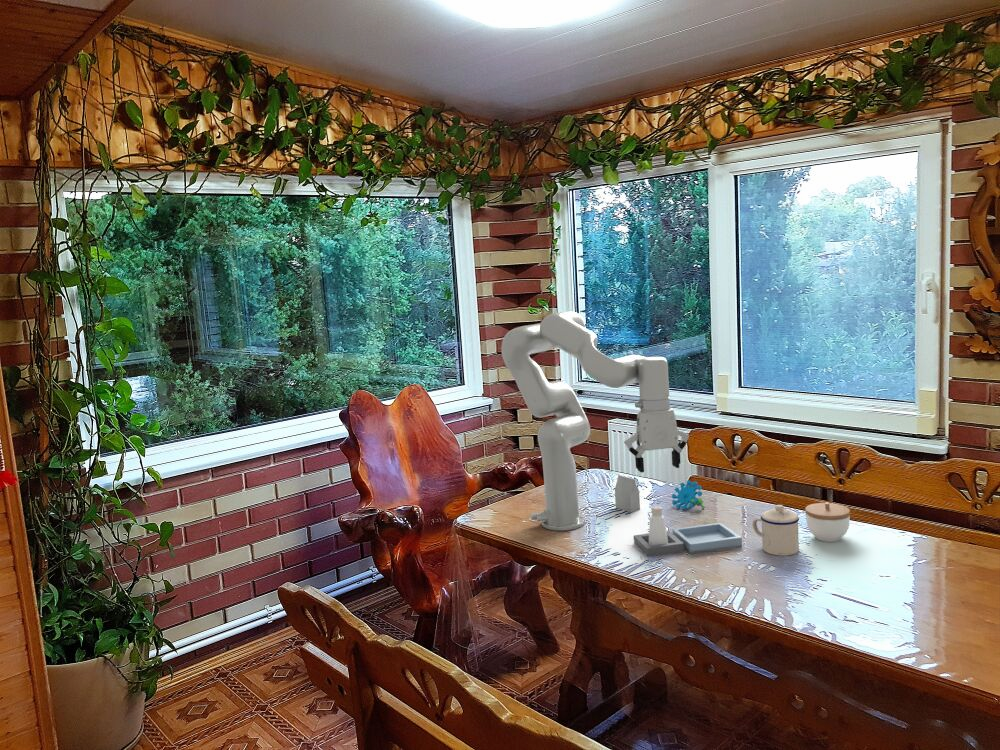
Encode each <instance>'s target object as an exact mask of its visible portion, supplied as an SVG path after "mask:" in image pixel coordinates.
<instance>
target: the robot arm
mask: <svg viewBox="0 0 1000 750" xmlns="http://www.w3.org/2000/svg"><path fill="white" fill-rule="evenodd" d="M597 346H598V336H597V334H596V333H595V332H594V331H591V330H590V329H588V328H586V323H585V319H584V318H583V317H582V315H581V314H579V313H578V312H575V311H572V310H571V311H570V310H569V311H567V310H566V311H560V312H556V313H555V312H554V313H550V314H548V315H546V316H545V317H544V318H542V320H541V322H540V323H535V324H533V323H532V324H528V325H522V326H517V327H514V328H513V329H511V330H509V331H508V332H507V333H506V334H505V335H504V337H503V339H502V343H501V350H500V352H501V357H502V361H503V362H504V364H505V366H506V368H507V369H508V371H509V372H510V373H509V374H511V377H513V379H514V381H515V383H516V386H517V388H518V390H519V391H520V394H521V396H522V398H523V400H524V402H525V404H526V406H527V409H528V410H529V412H530V413H531V415H532V416H533V417H535V418H539V419H540V418H546V417H549V416H553V415H555V416H556V417H554V418H551V419H548V420H546V421H545V422H543V423H542V424H541V426H539V428H538V431H537V442H538V446H539V449H540V450H539V451H540V454H541V461H542V470H543V471H542V472H543V482H544V483H543V485H544V497H545V498H544V499H545V507H543V511H540V512H531V513H530V520H531V521H535V520H536V522H541V526H542V527H543V528H544V529H547V530H550V531H560V532H561V531H570V530H575V529H579V528H580V527H582V526H583V525H584V524H585V523H586V522H585V517H584V516H582V515H580V513H579V512H580V511H579V497H578V495H579V493H578V479H577V477H578V476H577V466H576V462H575V457H574V455H573V454H572V452H571V448H573V447H575V446H578V445H581V444H582V443H584V442H586V441H587V440H588V438H589V437H590V435H591V425H590V422H589V419H588V416H587V415H586V413H585V411H584V409H583V406H582V405H581V403H580V401H579V399H578V397H577V395H576V393H575V391H574V390H573V388H572V387H571V386H570V385H569V384H568V383H567V382H564V381H562V380H553V381H549V380H548V379H547V378H546V376H545V374H544V372H543V370H542V368H541V367H540V365H539V364H538V363H537V362H536V361H535V360H534V359H533V358H531V357H530V355H533V354H538V353H542V352H548V351H551V350H553V349H556V348H558V349H560V350H562V351H563V352H565V353H567V354H568V355H570V356H572V357H573V358H575V359H577V360H578V362H579V363H578V364H579V365H580V367H581V368H582V369H583V371H584V372H585V373H586V374H587V375H588V376H589V377H591V378H592V379H594V380H595V381H597V382H599V383H601V384H602V385H604V386H605V387H609V388H613V389H620V388H622V387H626V386H630V385H634V384H637V383H638V389H639V398H638V402H635V403H634V407H635V408H636V409H637V408H638V409H639V410H638V411H637V416H636V427H635V429H636V430H635V431H636V433H635V434H633V435H632V436H630V437H629V438H627V439H625V440H624V445H625V447H626V448H627V450H628V451H629V452H630V453H631V454H632V455H633V456H634V458H635V459H634V460H635V469H637V471H638V472H640V473H644V472H645V466H644V465H645V462H644V457H642V456H643V454H644V453H645V452H646V451H656V450H664V449H665V450H666V449H672V451H671V465H672V466H673V467H674V468H675V469H679V468H680V464H681V453H682V451H683V449H684V448H685V447H686V445H687V442H688V441H689V437H690V435H689V434H688V433H686V432H684V431H681V430H679V429H678V424H677V419H676V418H677V417H676V415H675V411H674V408H671V407H670V406H671V404H670V403H671V402H670V401H671V400H670V399H671V398H670V382H669V381H670V380H669V363H668V359H666V358H665V357H663V356H643V355H638V354H630V355H626V356H620V357H617V358H611V357H610V356H608V355H607V354H604V353H603V352H601V351H600V350H598V349H597ZM679 437H681V439H680V440H679ZM635 442H636V445H637V447H636V448H634V447H633V443H635Z"/></svg>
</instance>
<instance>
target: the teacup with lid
mask: <svg viewBox="0 0 1000 750" xmlns="http://www.w3.org/2000/svg"><path fill="white" fill-rule="evenodd" d="M774 507H775V508H771V509H769V510H765V511H763V512H762V513H761V514H760V517H756V518H754V519H753V520H752V529H753V531H754V533H755V534H756V535H757V536H759V537H761V541H762V544H761V545H762V549H763V551H764V552H766V553H767V554H770V555H773V556H779V557H780V556H781V557H785V556H792V555H795V554H797V553H798V552H799V544H800V543H799V520H800V517H799V514H797V513H796V512H794V511H791V510H788V509H787V508H784V505H783V504H776V505H775V506H774ZM757 522H761V531H760V530H759V529H758V525H757Z"/></svg>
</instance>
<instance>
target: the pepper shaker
mask: <svg viewBox="0 0 1000 750" xmlns="http://www.w3.org/2000/svg"><path fill="white" fill-rule="evenodd" d="M650 508H651V515H650V517H649V528H648V529H649V531H648V533H649V543H648V544H649V545H650V546H652V545H659V544H667V543H668V537H667V531H668V530H667V525H666V524H667V523H666V518H665V516H664V515H663V507H662V506H660V505H654V506H651V507H650Z"/></svg>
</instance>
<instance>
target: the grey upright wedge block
mask: <svg viewBox="0 0 1000 750" xmlns="http://www.w3.org/2000/svg"><path fill="white" fill-rule="evenodd" d="M636 482H637V481H636V479H635V478H632V477H629V476H625V475H620V474H618V476H617V480H616V484H615V487H614V499H615V500H614V501H615V509H619V510H623V511H625V512H629V513H635V512H636V511H640V510H641V502H640V501H641V500H640V490H639V488H638V486H637V483H636Z"/></svg>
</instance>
